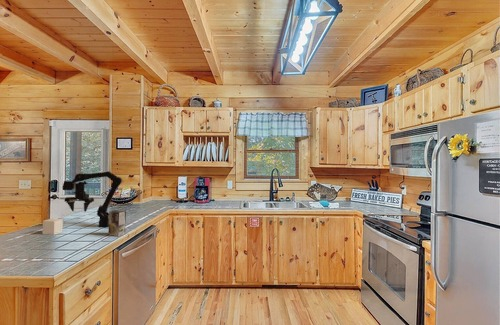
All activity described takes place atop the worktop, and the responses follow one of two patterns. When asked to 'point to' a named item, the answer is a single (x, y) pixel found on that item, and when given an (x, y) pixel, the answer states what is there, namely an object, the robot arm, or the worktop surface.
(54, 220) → the beige cardboard box
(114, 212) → the coffee box
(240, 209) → the worktop surface
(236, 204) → the worktop surface
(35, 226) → the worktop surface
